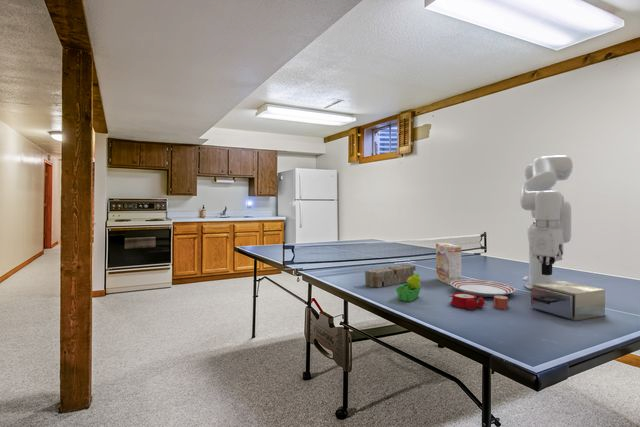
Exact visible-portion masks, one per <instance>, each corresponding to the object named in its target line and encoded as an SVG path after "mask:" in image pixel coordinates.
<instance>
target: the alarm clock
mask: <svg viewBox="0 0 640 427" xmlns="http://www.w3.org/2000/svg"><path fill="white" fill-rule="evenodd" d="M449 297H450V298H451V301H450V304H451V305H452V306H453V307H458V308H462V309H467V310H469V311H473V310H475V309H476V308H478V309H481V308H483V307H486V306H487V305H488V304H487V303H486V302H485V299H484V297H481V296H476V295H474V294H471V293H464V292H462V291H459V292H454V293H452V295H449Z"/></svg>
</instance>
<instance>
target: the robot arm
mask: <svg viewBox="0 0 640 427" xmlns="http://www.w3.org/2000/svg"><path fill="white" fill-rule="evenodd" d="M573 165H574V164H573V160H572V158H571V157H570V156H568V155H564V154H563V155H562V154H560V155H545V156H544V155H543V156H539V157H536V158H535V159H534V160H533V162H532V163H528V164H527V165H525V167H524V176H525V180H526V181H525V182H524V183H523V184H522V186H521V188H520V195H519V196H520V197H519V198H520V199H519V202H520V206H521V208H522V209H523V210H525V211H530V215H531V217H532V218H533V219H535V220H534V221H532V223H530V224H529V225H527V230H526V232H527V239H528V276H524V277H523V278H522V281H524V282H526V283H525V285H524V287H525V288H526V289H529V290H531V287H533V284H536V283H544V282H552V281H553V265H554V264H555V262H558V261H559V262H560V261H563V256H564V244H567V243H569V242H570V241H571V238H572V205H571V202H570V201H569V200H567V199H565V196H564V195H563V193H562V192H561V191H559V190H553V189H552V188H553V187H555V185H556V184H557V182H558V181H559V182H560V181H566V180H568V179H569V177H570V176H571V174H572V173H573V168H574V166H573Z"/></svg>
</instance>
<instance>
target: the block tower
mask: <svg viewBox="0 0 640 427" xmlns="http://www.w3.org/2000/svg"><path fill="white" fill-rule="evenodd" d="M414 271H416V265H412V264H406V263H404V264H403V263H402V264H400V265H392V266H388V267H381V268H373V269H367V270H365V271H364V279H365V282H364V283H365V286H366V287H369V288H378V289H379V288H382V287H389V286H393V285H399V284H404V283H407V279H408V278H409V277H411V276H413V275H414V274H415V272H414Z"/></svg>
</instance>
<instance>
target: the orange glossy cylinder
mask: <svg viewBox="0 0 640 427" xmlns="http://www.w3.org/2000/svg"><path fill="white" fill-rule="evenodd" d="M493 308H496V309H499V310H507V309H508V308H509V297H508V296H506V295H503V296H494V297H493Z"/></svg>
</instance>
